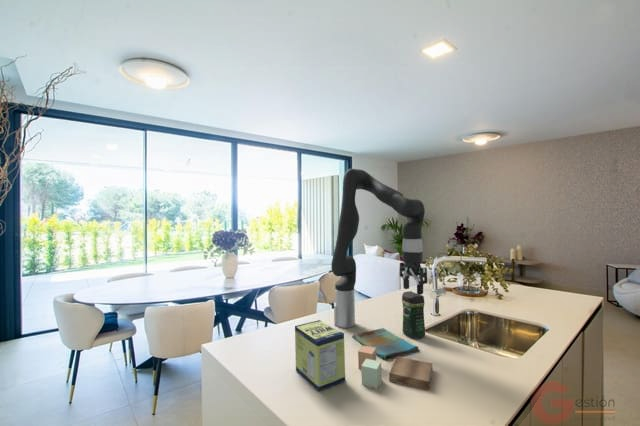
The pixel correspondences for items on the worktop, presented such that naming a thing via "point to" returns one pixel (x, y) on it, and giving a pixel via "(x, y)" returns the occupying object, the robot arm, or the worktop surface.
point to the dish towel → (385, 343)
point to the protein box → (320, 354)
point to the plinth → (411, 372)
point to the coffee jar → (413, 315)
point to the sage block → (371, 373)
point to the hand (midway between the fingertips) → (413, 291)
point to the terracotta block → (366, 354)
